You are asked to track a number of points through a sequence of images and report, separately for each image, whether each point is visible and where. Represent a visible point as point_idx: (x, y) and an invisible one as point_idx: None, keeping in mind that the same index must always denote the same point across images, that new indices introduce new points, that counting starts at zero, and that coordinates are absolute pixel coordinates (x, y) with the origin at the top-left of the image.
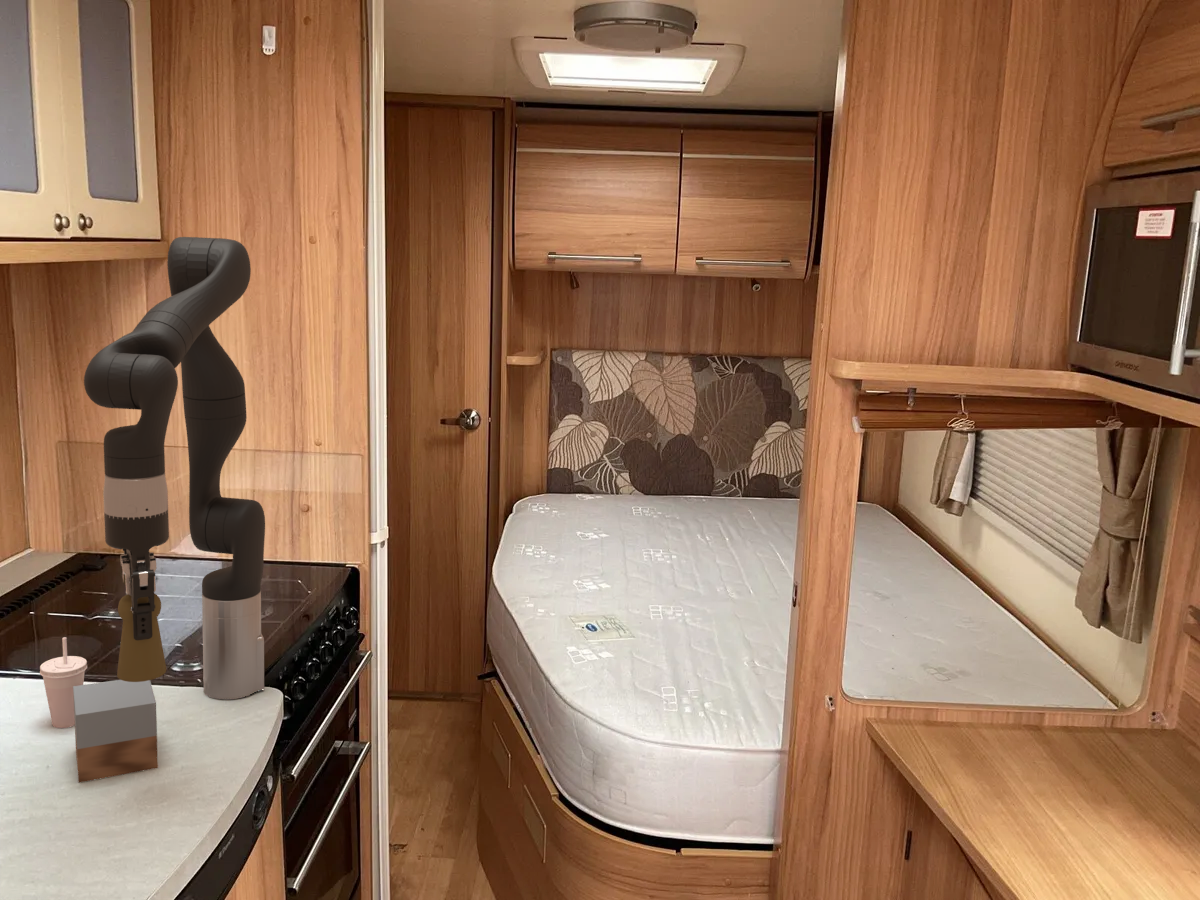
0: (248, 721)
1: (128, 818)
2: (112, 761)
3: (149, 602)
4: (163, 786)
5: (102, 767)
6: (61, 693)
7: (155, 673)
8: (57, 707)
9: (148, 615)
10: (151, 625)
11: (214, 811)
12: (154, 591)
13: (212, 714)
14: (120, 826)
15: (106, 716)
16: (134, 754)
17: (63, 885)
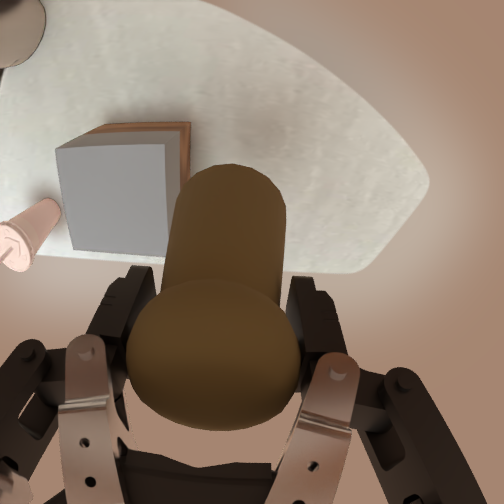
0: (108, 4)
1: (301, 172)
2: (185, 180)
3: (387, 408)
4: (244, 122)
5: None
6: (41, 237)
7: (281, 201)
8: (49, 231)
9: (346, 354)
10: (318, 306)
11: (339, 84)
12: (349, 432)
13: (70, 49)
14: (314, 182)
15: (169, 214)
16: (184, 155)
17: (382, 241)
